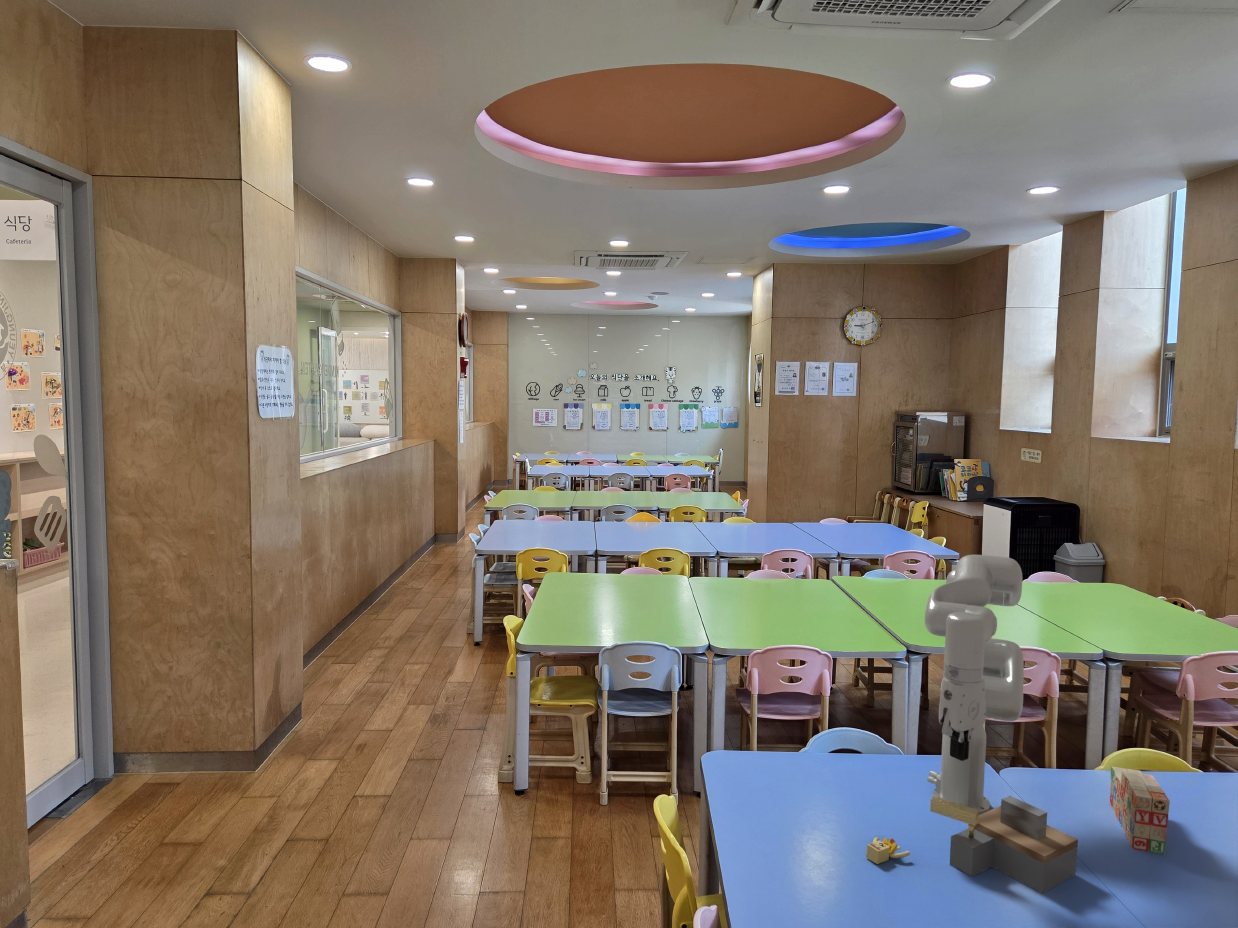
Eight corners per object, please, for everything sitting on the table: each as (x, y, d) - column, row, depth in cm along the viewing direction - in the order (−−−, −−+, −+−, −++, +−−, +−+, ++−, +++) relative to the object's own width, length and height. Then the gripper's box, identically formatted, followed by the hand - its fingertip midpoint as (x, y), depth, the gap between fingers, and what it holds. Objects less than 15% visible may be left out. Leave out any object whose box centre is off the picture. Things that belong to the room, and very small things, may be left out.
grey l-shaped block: (947, 862, 163) (948, 834, 163) (1001, 837, 173) (1002, 811, 173) (1021, 904, 150) (1023, 874, 149) (1075, 874, 160) (1077, 846, 159)
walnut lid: (969, 825, 166) (971, 796, 166) (1002, 811, 173) (1004, 782, 172) (1044, 863, 153) (1046, 831, 152) (1077, 846, 159) (1079, 815, 159)
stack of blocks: (1108, 803, 190) (1111, 753, 189) (1138, 808, 187) (1142, 757, 186) (1131, 849, 170) (1135, 794, 169) (1166, 855, 167) (1170, 799, 166)
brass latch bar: (974, 840, 160) (976, 814, 160) (929, 824, 166) (930, 799, 165) (977, 836, 162) (978, 810, 161) (932, 820, 167) (933, 795, 167)
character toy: (912, 844, 164) (887, 855, 160) (911, 859, 164) (886, 870, 160) (880, 826, 170) (856, 836, 166) (880, 841, 171) (855, 851, 166)
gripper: (957, 684, 157) (952, 773, 158) (1001, 671, 165) (996, 756, 166) (924, 673, 163) (920, 758, 165) (968, 661, 171) (964, 743, 173)
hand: (958, 757), depth 165 cm, fingers closed
